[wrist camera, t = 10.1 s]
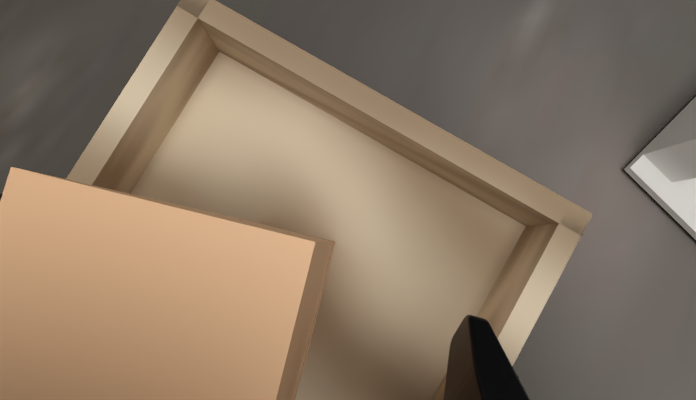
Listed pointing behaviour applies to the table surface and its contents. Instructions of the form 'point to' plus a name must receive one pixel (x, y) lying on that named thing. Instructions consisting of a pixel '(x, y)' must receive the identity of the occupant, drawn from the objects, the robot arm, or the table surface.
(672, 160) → the white piece
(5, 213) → the orange post
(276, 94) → the tray
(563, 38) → the table surface
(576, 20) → the table surface
